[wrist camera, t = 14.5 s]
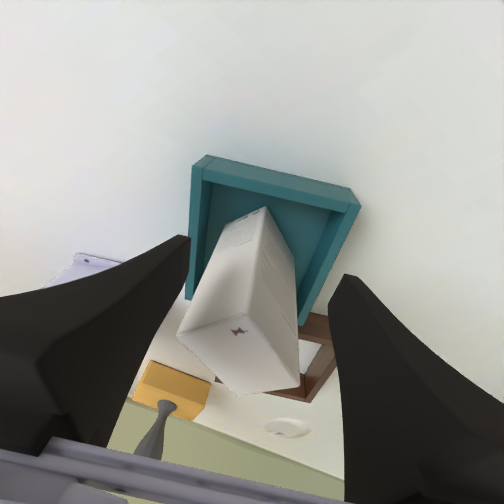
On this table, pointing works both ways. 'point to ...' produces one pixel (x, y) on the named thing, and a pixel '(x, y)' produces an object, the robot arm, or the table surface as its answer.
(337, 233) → the bin
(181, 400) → the rubber stamp
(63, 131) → the table surface
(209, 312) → the cosmetic box
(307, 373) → the frame
